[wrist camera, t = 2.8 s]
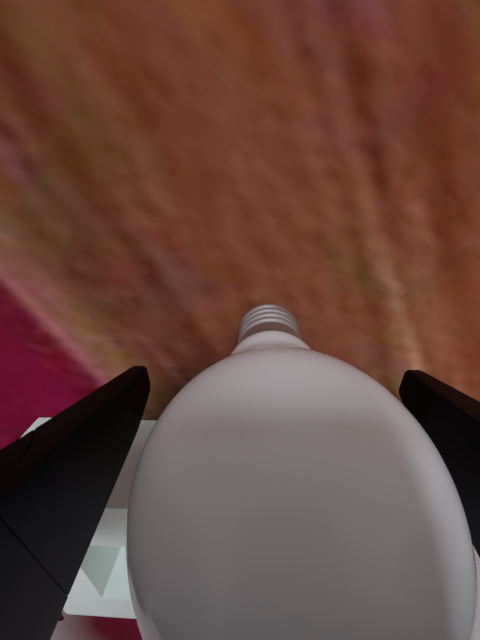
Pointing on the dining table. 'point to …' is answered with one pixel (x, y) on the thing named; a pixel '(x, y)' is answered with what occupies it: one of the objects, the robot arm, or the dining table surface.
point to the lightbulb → (295, 506)
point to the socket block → (108, 547)
